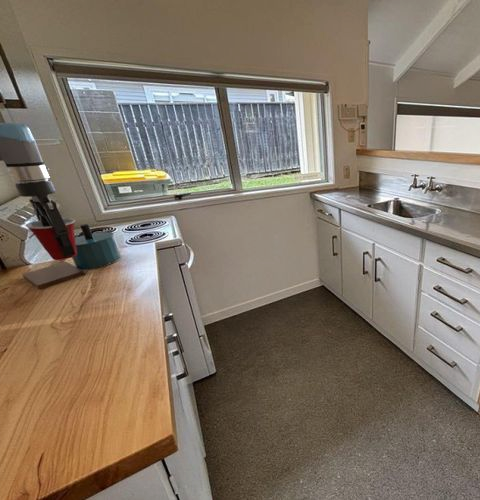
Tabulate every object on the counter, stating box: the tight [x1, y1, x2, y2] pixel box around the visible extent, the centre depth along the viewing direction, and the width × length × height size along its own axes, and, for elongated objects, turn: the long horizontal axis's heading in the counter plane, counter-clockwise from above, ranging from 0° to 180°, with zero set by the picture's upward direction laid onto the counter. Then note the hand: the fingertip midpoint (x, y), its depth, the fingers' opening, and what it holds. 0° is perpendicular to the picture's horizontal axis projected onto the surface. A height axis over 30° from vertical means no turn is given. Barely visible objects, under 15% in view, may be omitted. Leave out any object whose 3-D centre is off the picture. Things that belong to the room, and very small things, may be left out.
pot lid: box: [75, 223, 115, 247], centre depth 108 cm, size 15×15×7 cm
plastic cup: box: [25, 217, 77, 261], centre depth 89 cm, size 11×11×12 cm
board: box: [21, 261, 86, 290], centre depth 102 cm, size 12×18×2 cm, turn 59°
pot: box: [71, 236, 121, 271], centre depth 111 cm, size 14×14×10 cm
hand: (64, 252), depth 91 cm, fingers closed on plastic cup, 8 cm apart
